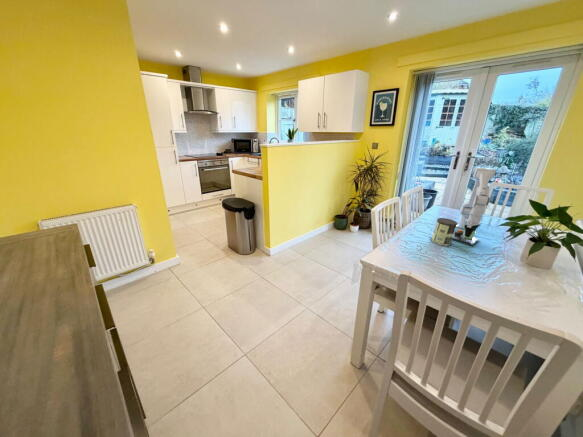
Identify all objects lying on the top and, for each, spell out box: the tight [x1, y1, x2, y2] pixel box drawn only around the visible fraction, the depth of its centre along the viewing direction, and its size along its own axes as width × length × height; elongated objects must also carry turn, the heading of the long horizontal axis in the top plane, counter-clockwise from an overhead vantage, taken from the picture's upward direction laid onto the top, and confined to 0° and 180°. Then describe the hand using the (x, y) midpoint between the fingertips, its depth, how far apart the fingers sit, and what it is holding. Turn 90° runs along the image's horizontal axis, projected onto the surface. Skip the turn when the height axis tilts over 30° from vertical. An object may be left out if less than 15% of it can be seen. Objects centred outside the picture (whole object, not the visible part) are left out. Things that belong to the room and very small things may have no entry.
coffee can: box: [431, 217, 458, 246], centre depth 139 cm, size 10×10×14 cm
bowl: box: [463, 229, 476, 239], centre depth 140 cm, size 5×5×4 cm
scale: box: [451, 229, 479, 247], centre depth 145 cm, size 13×13×3 cm
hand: (468, 235), depth 140 cm, fingers closed on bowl, 5 cm apart
